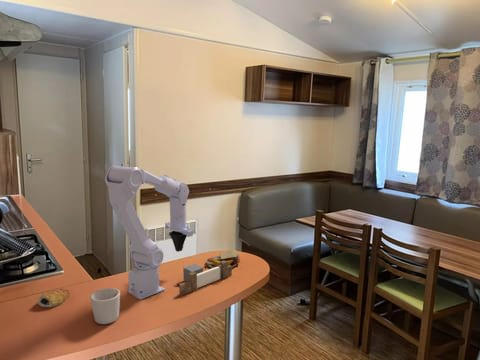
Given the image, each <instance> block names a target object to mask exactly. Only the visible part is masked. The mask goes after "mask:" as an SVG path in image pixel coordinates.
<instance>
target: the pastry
mask: <svg viewBox="0 0 480 360" xmlns="http://www.w3.org/2000/svg"><path fill="white" fill-rule="evenodd" d="M69 296H70V291H69V289H66V288H64V287H63V288H59V289H58V288H57V289H52V290H48V291H46V292H44V293H43V294H41V295H40V296H39V298H38V300H37V304H38V305H39V307H44V308H56V307H58V306H59V305H60V304H62V303H64V302H65V301H66V300H67V299H68V298H69Z"/></svg>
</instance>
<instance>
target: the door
mask: <svg viewBox="0 0 480 360" xmlns="http://www.w3.org/2000/svg"><path fill="white" fill-rule="evenodd" d="M221 279H222V278H221V265H219V267H215V268H209V269H207V270H203V272H201V273H199V274H197V289H200V288H201V287H204V286H206V285H209V284H210V283H211V284H212V283H214V282H216V281H218V280H221Z"/></svg>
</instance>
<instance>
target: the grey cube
mask: <svg viewBox="0 0 480 360" xmlns="http://www.w3.org/2000/svg"><path fill="white" fill-rule="evenodd" d="M182 269H183V275H182V276H183V282H187V281H188V273H190V272H195V273H197V274H199V273H201V272H204V267H202V266H200V265H198V264H196V263H193V264H190V265H187V266H184V267H183V268H182Z"/></svg>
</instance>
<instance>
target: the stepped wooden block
mask: <svg viewBox="0 0 480 360" xmlns="http://www.w3.org/2000/svg"><path fill="white" fill-rule="evenodd" d="M220 265H221V278H220V279H223V280H225V279H228V277H231V276H232V275H233V268H232V266H230V265H229V266H228V262H227V261H224V260H223V261H221V262H220ZM196 291H198V288H197V273H195V272H190V273H188V281H187V282H185V281H183V282H182V283H180V284H179V295H180V296H184V295H186V294H188V293H189V294H190V293H191V292H192V293H193V292H196Z"/></svg>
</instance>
